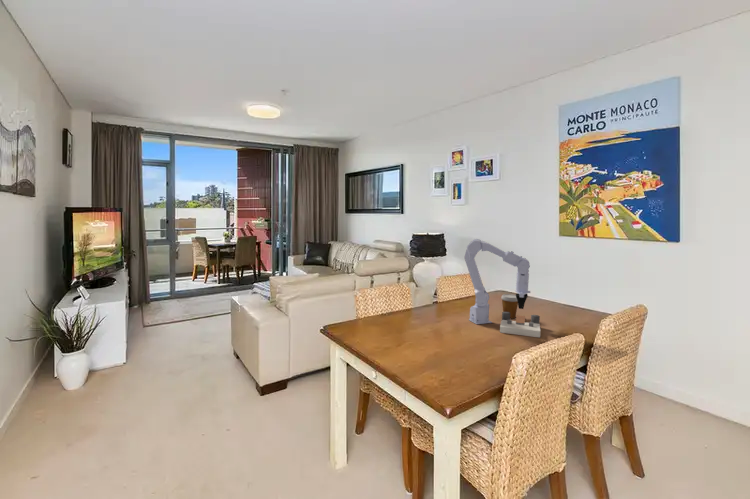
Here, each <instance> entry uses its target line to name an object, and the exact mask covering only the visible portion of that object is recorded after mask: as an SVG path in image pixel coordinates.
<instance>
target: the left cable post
mask: <svg viewBox="0 0 750 499" xmlns="http://www.w3.org/2000/svg"><path fill="white" fill-rule="evenodd" d="M501 313H502V314H501V316H502V317H501V320H511V319H510V312H503V311H502V312H501Z"/></svg>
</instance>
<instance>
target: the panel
mask: <svg viewBox="0 0 750 499" xmlns="http://www.w3.org/2000/svg"><path fill="white" fill-rule="evenodd" d="M540 325H541V324H540V323H539V324H535V323H533V322H531V321H529V322H525V325H520V324H516V320H512V319H510V320H502V319H501V321H500V325H499V333H501V334H502V333H503V334H509V335H510V334H511V335H519V336H525V337H534V338H541V326H540Z"/></svg>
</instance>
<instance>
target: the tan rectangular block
mask: <svg viewBox="0 0 750 499" xmlns="http://www.w3.org/2000/svg"><path fill="white" fill-rule="evenodd" d="M525 319H526V316H525V315H519V314H516V317H515V321H516V324H520V325H525V321H526V320H525Z"/></svg>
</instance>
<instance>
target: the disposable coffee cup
mask: <svg viewBox="0 0 750 499" xmlns="http://www.w3.org/2000/svg"><path fill="white" fill-rule="evenodd" d="M500 298H501V304H502V305H501V306H502V312H510V320H512V319H516V315H517V310H518V300H517V298H516V294H511V293H508V294H507V293H504V294H502V295H501V297H500Z"/></svg>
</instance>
